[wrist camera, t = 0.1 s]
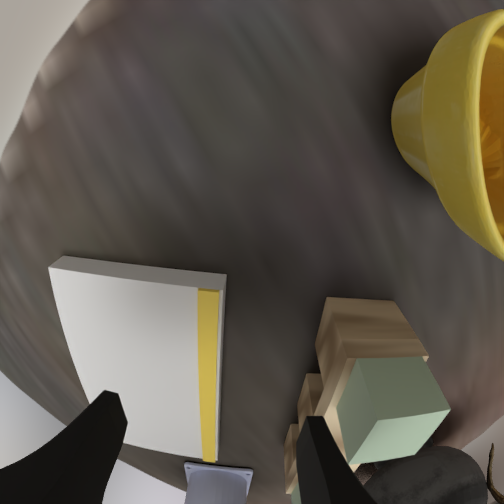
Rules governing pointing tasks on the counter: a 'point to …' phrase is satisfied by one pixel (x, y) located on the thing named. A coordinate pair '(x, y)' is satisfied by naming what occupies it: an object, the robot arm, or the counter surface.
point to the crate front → (389, 408)
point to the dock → (148, 347)
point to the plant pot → (460, 126)
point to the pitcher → (432, 478)
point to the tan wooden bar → (347, 362)
